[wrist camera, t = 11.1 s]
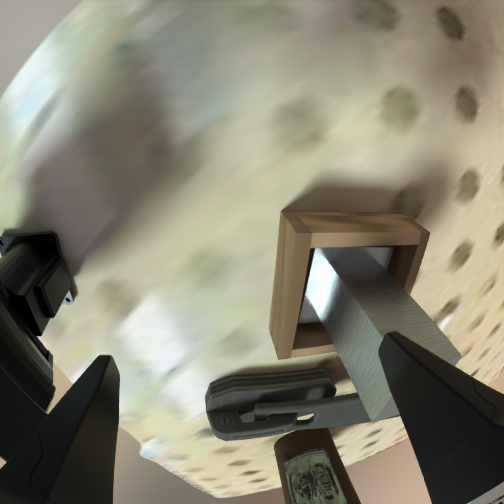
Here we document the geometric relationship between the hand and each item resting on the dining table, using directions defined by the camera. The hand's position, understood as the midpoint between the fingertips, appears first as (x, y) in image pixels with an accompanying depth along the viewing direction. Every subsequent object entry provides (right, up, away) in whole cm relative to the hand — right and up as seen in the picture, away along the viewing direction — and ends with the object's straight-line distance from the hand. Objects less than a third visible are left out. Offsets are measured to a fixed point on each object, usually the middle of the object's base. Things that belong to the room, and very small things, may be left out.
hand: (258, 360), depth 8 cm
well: (+7, +1, +15) cm, 17 cm away
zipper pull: (+7, -12, +23) cm, 27 cm away
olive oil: (+8, -27, +31) cm, 42 cm away
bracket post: (+7, +1, +15) cm, 16 cm away
